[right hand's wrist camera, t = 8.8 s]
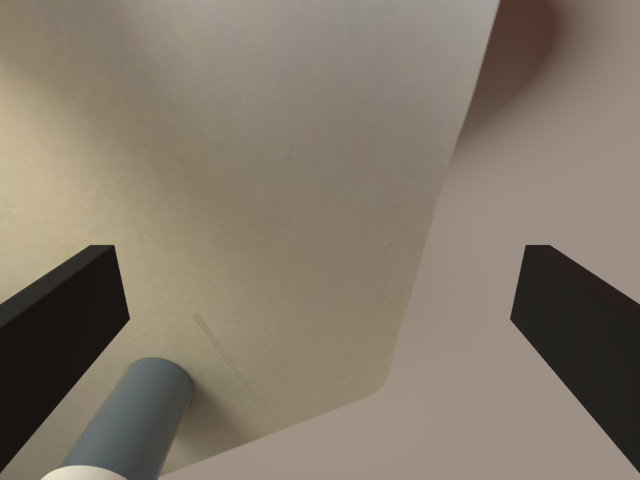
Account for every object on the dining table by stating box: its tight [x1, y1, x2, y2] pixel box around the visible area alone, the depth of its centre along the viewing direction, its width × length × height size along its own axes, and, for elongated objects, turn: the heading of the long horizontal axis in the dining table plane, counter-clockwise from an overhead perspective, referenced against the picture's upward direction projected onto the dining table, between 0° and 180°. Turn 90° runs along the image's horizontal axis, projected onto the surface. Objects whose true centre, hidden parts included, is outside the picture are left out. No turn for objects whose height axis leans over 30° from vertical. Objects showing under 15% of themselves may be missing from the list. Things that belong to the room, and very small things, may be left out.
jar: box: [56, 358, 193, 480], centre depth 38 cm, size 8×8×15 cm
